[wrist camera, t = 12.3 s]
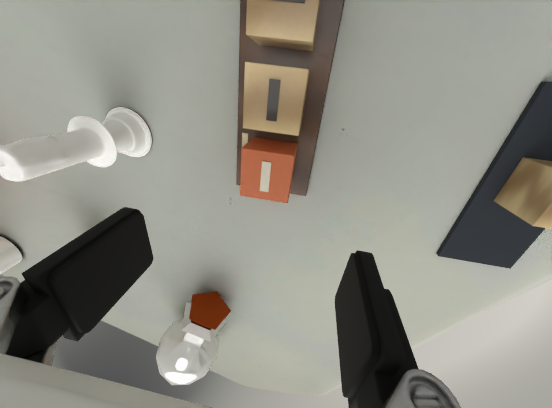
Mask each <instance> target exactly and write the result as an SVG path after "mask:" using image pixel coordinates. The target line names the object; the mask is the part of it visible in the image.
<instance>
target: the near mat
mask: <svg viewBox="0 0 552 408" xmlns="http://www.w3.org/2000/svg"><path fill="white" fill-rule="evenodd" d="M524 157H525V158H532V159H539V160H546V161H552V82H541V84H540V85H539V87H538V89H537V90H536V92H535V93H534V95H533V97H532V98H531V100H530V102H529V103H528V105H527V106H526V108H525V110H524V111H523V113H522V115H521V116H520V118H519V120H518V121H517V123H516V124H515V126H514V128H513V129H512V131H511V133H510V134H509V136H508V137H507V139H506V141H505V142H504V144H503V146H502V147H501V149H500V151H499V152H498V154H497V155H496V157H495V159H494V160H493V162H492V164H491V165H490V167H489V168H488V170H487V172H486V173H485V175H484V177H483V178H482V180H481V182H480V183H479V185H478V186H477V188H476V190H475V191H474V193H473V195H472V196H471V198H470V199H469V201H468V203H467V204H466V206H465V208H464V209H463V211H462V212H461V214H460V216H459V217H458V219H457V221H456V222H455V224H454V226H453V227H452V229H451V230H450V232H449V234H448V235H447V237H446V239H445V240H444V242H443V243H442V245H441V247H440V248H439V250H438V252H437V255H438V256H442V257H447V258H453V259H459V260H465V261H470V262H476V263H482V264H488V265H494V266H499V267H505V268H511V267H512V266H513V265H514V264H515V263H516V261H517V260H518V259H519V258H520V257H521V256H522V254H523V253H524V252H525V251H526V250H527V249H528V248H529V246H530V245H531V244H532V243H533V242H534V241H535V240H536V238H537V237H538V236H539V235H540V234H541V233H542V231H543V230H544V229H545V228H543V227H536V226H532V225H530V224H529V223H527V222H526V221H524V220H523V219H521V218H519V217H518V216H516V215H515V214H513V213H512V212H510V211H508V210H507V209H505V208H504V207H502V206H501V205H499V204H498V203H496V202H494V199H495V198H496V196H497V195H498V193H499V192H500V190H501V189H502V187H503V186H504V185H505V183H506V182H507V180H508V179H509V177H510V176H511V174H512V173H513V171H514V170H515V168H516V167H517V165H518V164H519V162H520V161H521V159H522V158H524Z"/></svg>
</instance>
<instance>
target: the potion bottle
mask: <svg viewBox="0 0 552 408" xmlns="http://www.w3.org/2000/svg"><path fill="white" fill-rule="evenodd" d="M230 312H231V310H230V309H229V308H228V306H227V305H226V303H225V302H224V301H223V299H222V298H221V296H220V295H219V294H218V292H210V293H202V294H194V295H193V296H192V302H186V306H185V312H184V317H183V318H182V319H180V320H178V321H176V322H174V323H173V324H172V325H171V326H170V327H169V328H168V329H167V331H166V332H165V333H164V334H163V335H162V336H161V339H160V343H159V347H158V351H157V355H156V360H157V364H158V369H159V373H160V374H161V375H162V376H163V377H164V378H165V379H166V380H167V381H168V382H169V383H170V384H171V385H188V384H191V383H193V382H195V381H196V380H198V379H200V378H202V377H204V376H205V374H206V373H207V372H208V370H209V369H210V367H211V366H212V365H213V363H214V362H215V360H216V358H217V353H218V347H219V339H218V335H217V333H218V332H219V331H220V329H221V328H222V327H223V326H224V324H225V323H226V322H227V318H226V316H227V315H228V314H229V313H230Z"/></svg>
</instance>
